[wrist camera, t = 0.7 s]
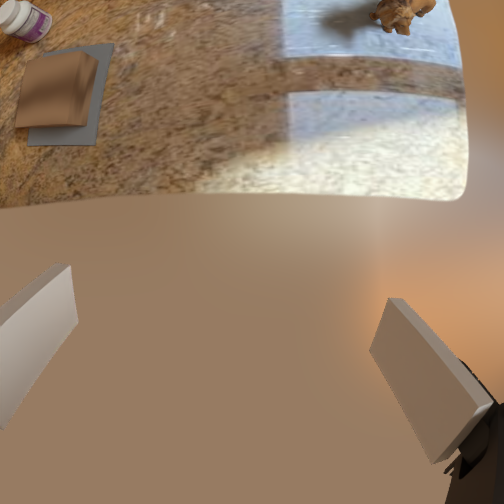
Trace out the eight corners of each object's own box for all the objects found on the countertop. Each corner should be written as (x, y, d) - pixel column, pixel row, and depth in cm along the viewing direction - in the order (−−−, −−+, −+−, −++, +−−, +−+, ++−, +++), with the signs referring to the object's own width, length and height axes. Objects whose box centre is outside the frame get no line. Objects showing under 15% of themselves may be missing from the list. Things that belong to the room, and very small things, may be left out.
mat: (45, 54, 26) (43, 53, 26) (114, 44, 28) (113, 43, 27) (28, 145, 31) (27, 145, 30) (95, 145, 32) (94, 145, 32)
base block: (47, 67, 27) (27, 60, 22) (99, 60, 28) (81, 50, 23) (36, 128, 30) (14, 127, 25) (86, 126, 31) (67, 123, 26)
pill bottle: (23, 32, 24) (-12, 17, 15) (48, 8, 24) (14, -12, 14) (32, 50, 26) (-7, 36, 17) (57, 25, 25) (22, 5, 16)
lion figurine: (380, 53, 30) (415, 33, 21) (352, 25, 28) (380, -2, 20) (429, 12, 27) (462, -6, 18) (405, -13, 25) (434, -36, 17)
